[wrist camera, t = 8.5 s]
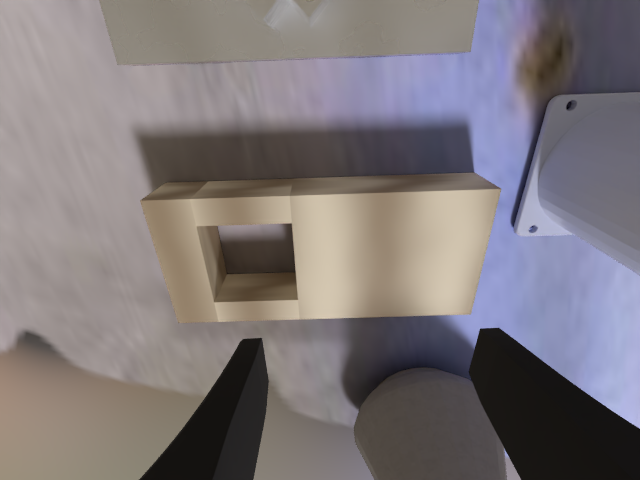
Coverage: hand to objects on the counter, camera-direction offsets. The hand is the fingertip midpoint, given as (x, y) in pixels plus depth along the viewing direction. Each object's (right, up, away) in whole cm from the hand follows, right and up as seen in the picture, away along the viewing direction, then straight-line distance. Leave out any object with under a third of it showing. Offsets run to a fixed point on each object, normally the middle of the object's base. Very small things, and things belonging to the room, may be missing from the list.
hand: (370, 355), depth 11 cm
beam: (-2, +4, +10) cm, 11 cm away
